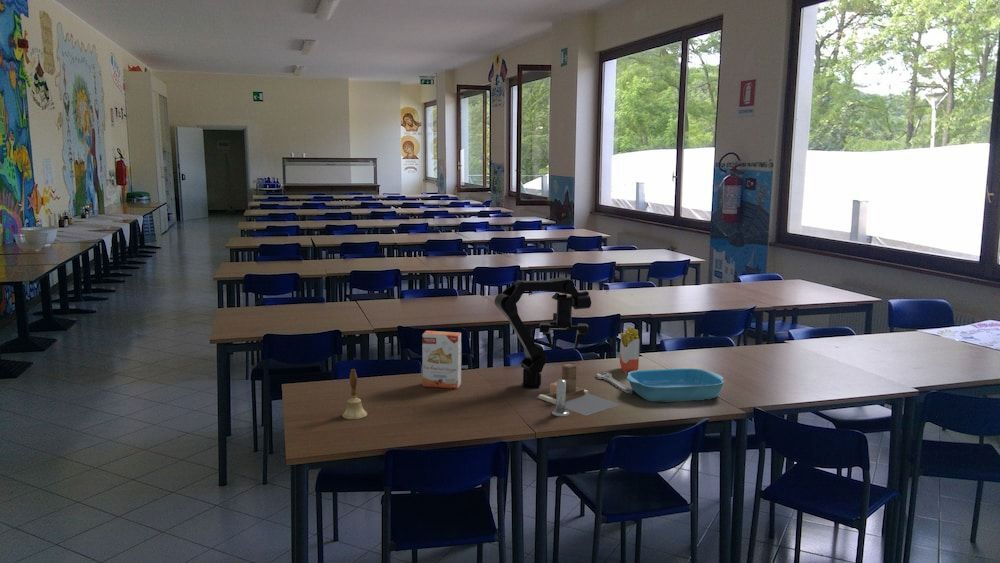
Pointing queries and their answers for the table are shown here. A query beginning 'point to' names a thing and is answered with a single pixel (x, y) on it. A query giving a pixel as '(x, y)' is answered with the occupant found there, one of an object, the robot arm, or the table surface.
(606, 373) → the adjustable wrench
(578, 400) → the mat
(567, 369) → the wooden block on base
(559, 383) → the grey metal stick
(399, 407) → the table surface
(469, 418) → the table surface
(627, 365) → the french fries container
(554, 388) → the terracotta block
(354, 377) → the hand bell
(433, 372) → the cracker box
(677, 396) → the casserole dish
